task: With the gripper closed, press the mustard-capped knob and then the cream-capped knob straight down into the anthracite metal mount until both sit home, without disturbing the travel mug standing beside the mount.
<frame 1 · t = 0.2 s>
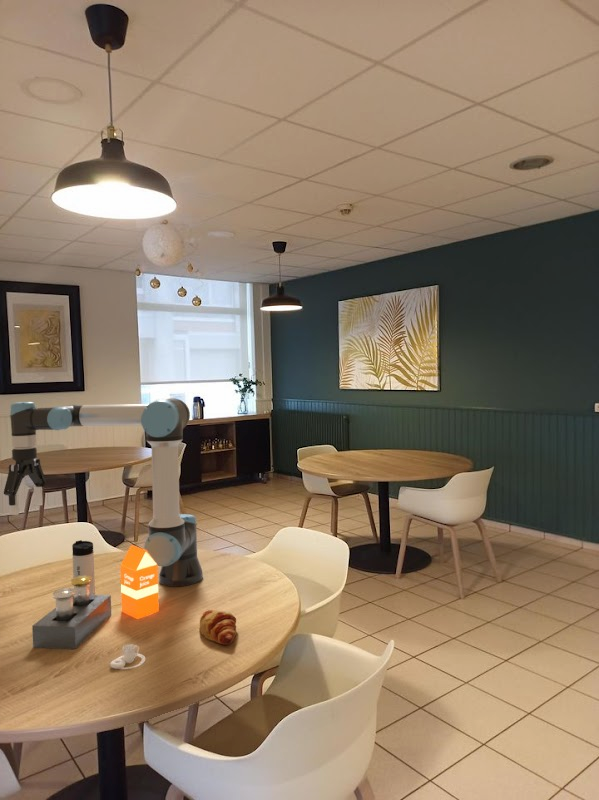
hand: (26, 509, 194), 28 cm above the table, fingers open, 13 cm apart
knob A: (81, 592, 168), point 9 cm above the table, slide at 4.0 cm
knob B: (64, 605, 158), point 9 cm above the table, slide at 4.0 cm
orange juice: (140, 611, 176), on the table
croissant: (218, 634, 160), on the table
travel mug: (84, 605, 182), on the table
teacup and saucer: (118, 663, 146), on the table
mount: (74, 630, 164), on the table
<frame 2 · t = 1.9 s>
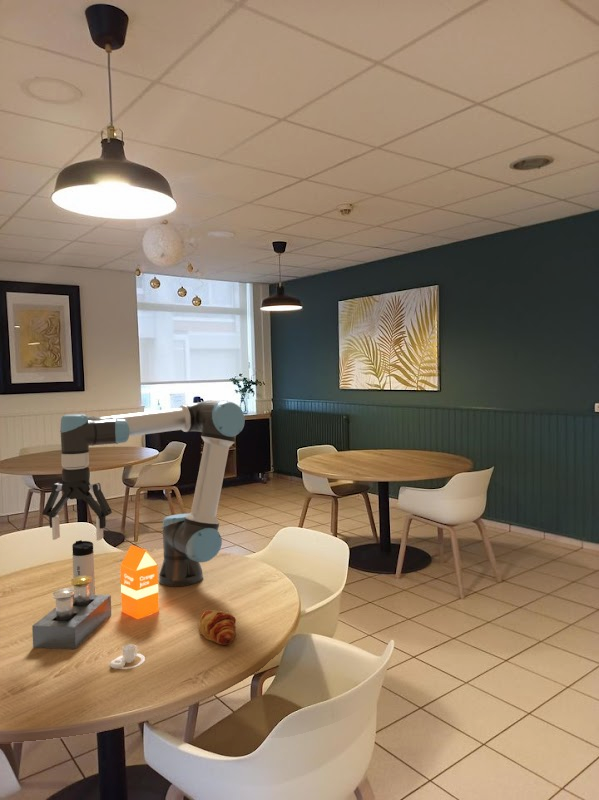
hand: (78, 538, 168), 25 cm above the table, fingers open, 13 cm apart
nothing on the table moved.
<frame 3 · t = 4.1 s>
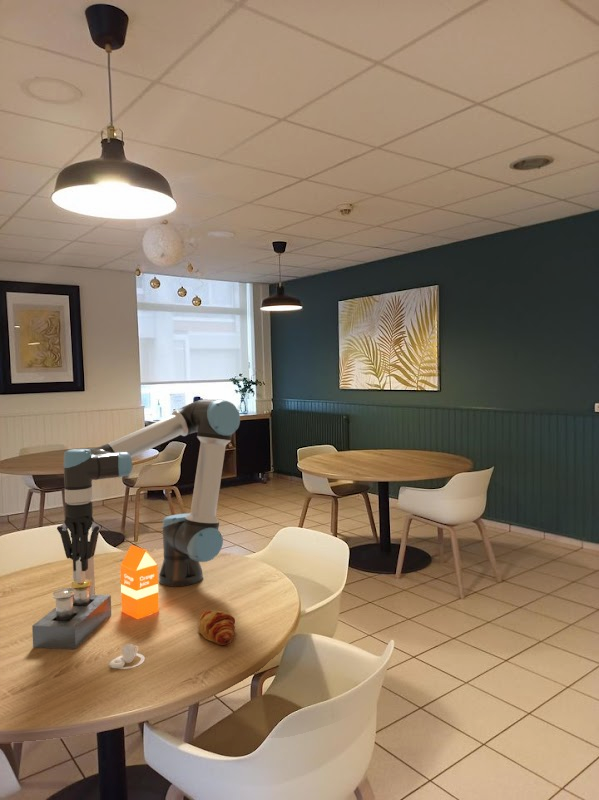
hand: (81, 581, 168), 12 cm above the table, fingers closed
knob A: (82, 595, 168), point 8 cm above the table, slide at 3.0 cm, touching gripper
everything else where it was.
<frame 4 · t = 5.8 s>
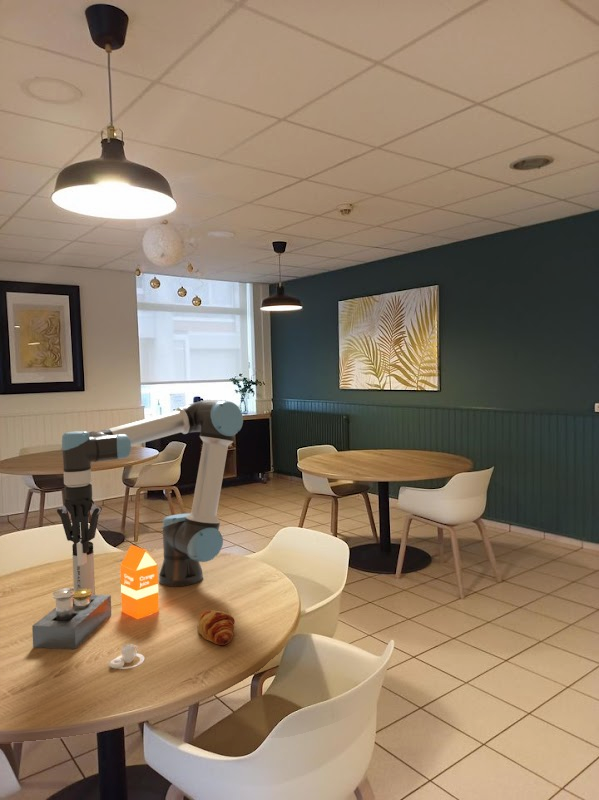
hand: (82, 563, 168), 18 cm above the table, fingers closed
knob A: (82, 605, 169), point 5 cm above the table, slide at 0.1 cm
everything else where it was.
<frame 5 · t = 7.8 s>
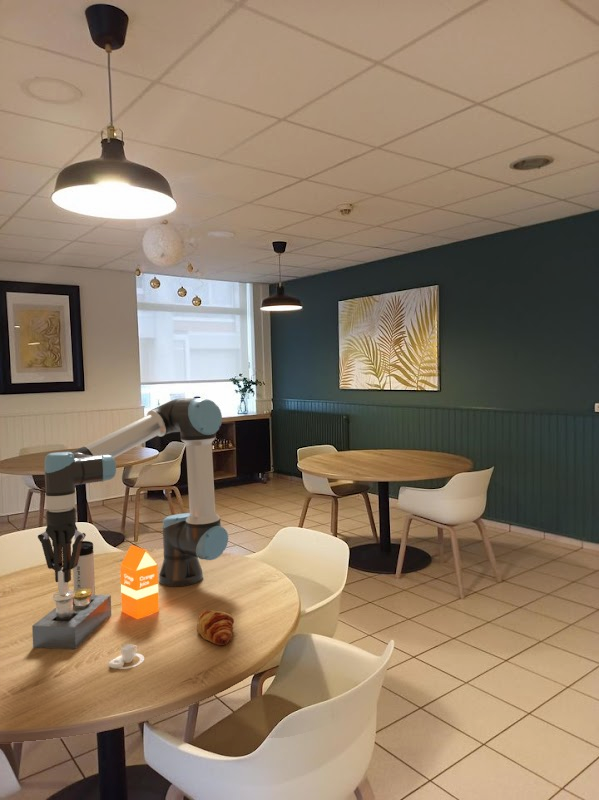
hand: (63, 593, 158), 13 cm above the table, fingers closed
knob B: (64, 608, 158), point 8 cm above the table, slide at 3.3 cm, touching gripper
everything else where it was.
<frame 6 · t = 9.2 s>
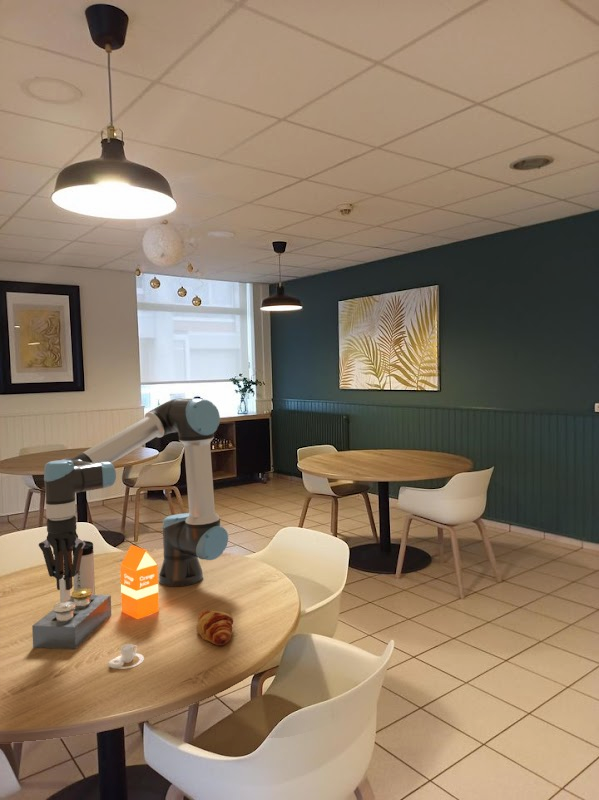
hand: (65, 600, 159), 10 cm above the table, fingers closed
knob B: (65, 619, 159), point 5 cm above the table, slide at 0.1 cm
everything else where it was.
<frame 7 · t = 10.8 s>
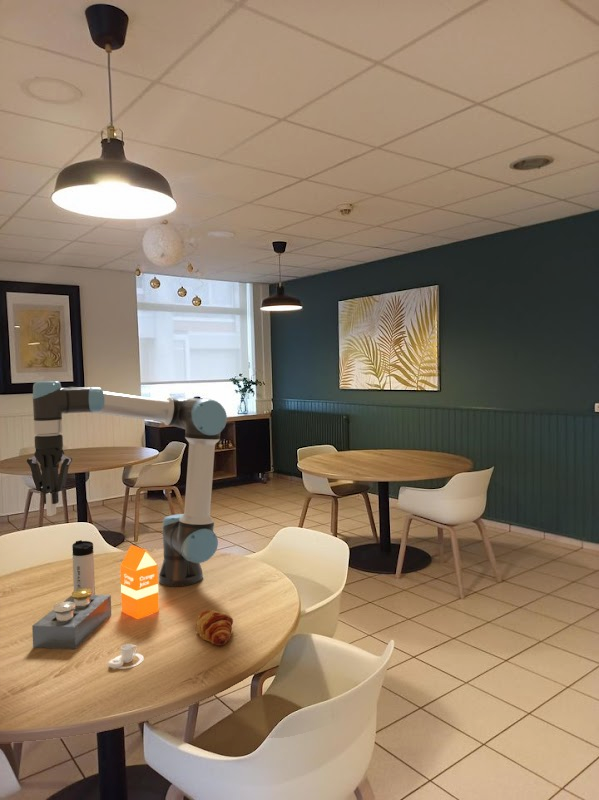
hand: (51, 514, 167), 32 cm above the table, fingers closed
nothing on the table moved.
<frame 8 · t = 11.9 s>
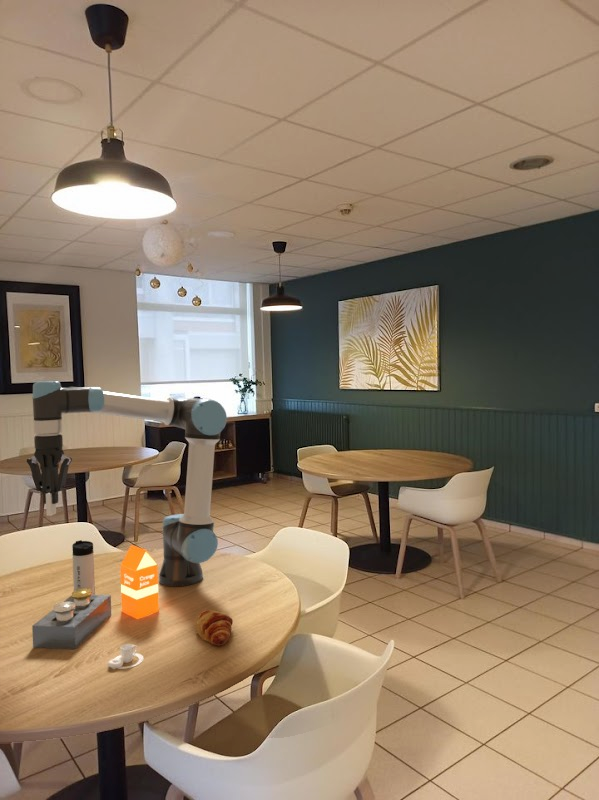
hand: (51, 514, 167), 32 cm above the table, fingers closed
at the end: knob A slide at 0.1 cm; knob B slide at 0.1 cm; travel mug tilted 0° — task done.
